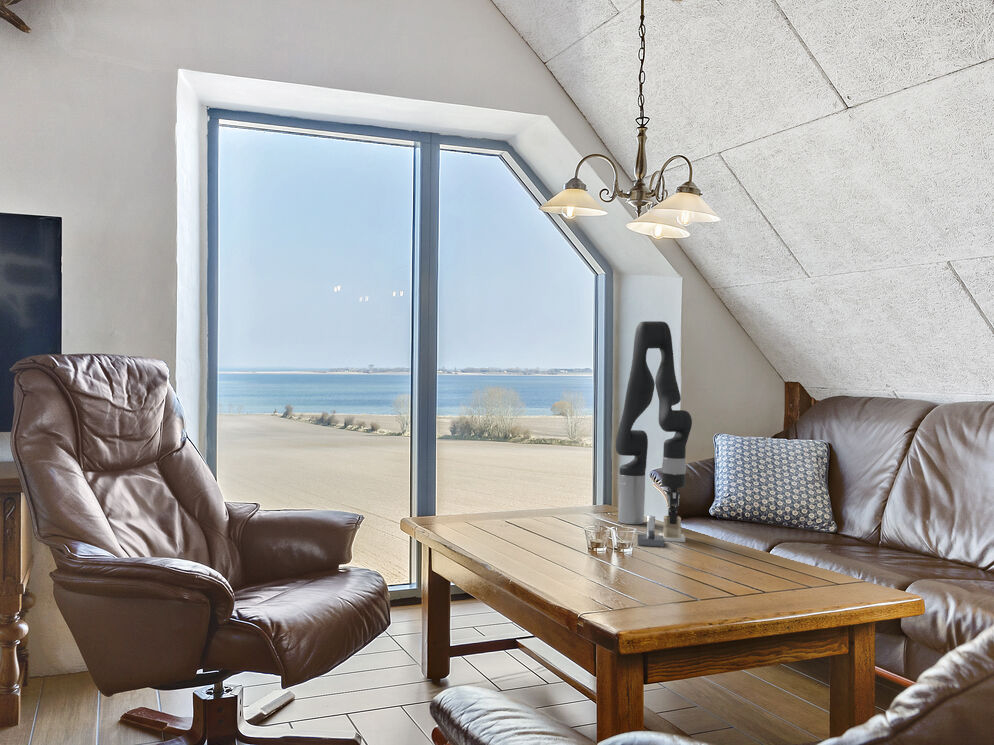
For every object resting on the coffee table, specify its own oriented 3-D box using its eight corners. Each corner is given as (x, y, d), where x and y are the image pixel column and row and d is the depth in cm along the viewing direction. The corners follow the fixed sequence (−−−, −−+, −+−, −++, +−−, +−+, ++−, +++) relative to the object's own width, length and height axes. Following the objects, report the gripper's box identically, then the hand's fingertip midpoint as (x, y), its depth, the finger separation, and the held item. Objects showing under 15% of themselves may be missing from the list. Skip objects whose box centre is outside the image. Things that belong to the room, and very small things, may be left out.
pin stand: (637, 540, 263) (638, 513, 263) (662, 541, 262) (663, 515, 262) (637, 545, 255) (638, 517, 255) (663, 546, 254) (664, 519, 254)
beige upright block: (663, 533, 270) (663, 515, 270) (679, 534, 269) (680, 516, 269) (664, 536, 265) (664, 518, 265) (680, 537, 264) (681, 519, 264)
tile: (658, 535, 272) (658, 532, 272) (683, 537, 270) (683, 534, 270) (659, 540, 264) (659, 537, 264) (685, 542, 262) (685, 538, 262)
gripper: (661, 468, 275) (659, 517, 275) (662, 473, 261) (661, 524, 261) (684, 469, 274) (682, 518, 274) (687, 474, 260) (685, 526, 260)
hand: (672, 521), depth 267 cm, fingers open, 8 cm apart
